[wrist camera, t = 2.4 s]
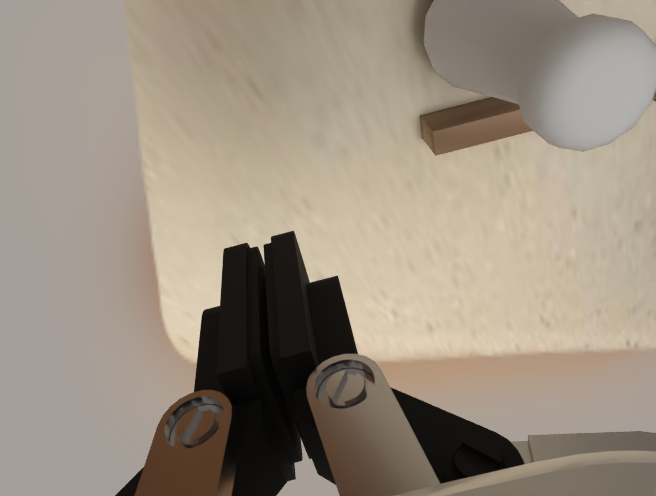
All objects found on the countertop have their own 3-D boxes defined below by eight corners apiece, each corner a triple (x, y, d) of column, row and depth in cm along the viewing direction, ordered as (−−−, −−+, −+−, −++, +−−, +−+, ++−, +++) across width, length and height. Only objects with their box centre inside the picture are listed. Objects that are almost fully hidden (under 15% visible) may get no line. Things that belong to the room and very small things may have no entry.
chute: (394, -104, 24) (425, -105, 20) (699, -184, 24) (795, -202, 20) (423, 141, 31) (450, 179, 27) (659, 80, 31) (724, 109, 26)
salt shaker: (538, -30, 26) (738, 18, 16) (497, 83, 29) (642, 189, 19) (430, -55, 25) (567, -22, 14) (398, 66, 28) (492, 168, 17)
